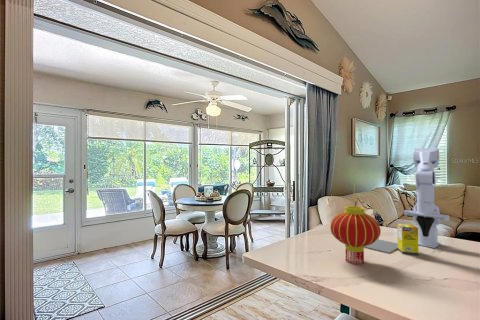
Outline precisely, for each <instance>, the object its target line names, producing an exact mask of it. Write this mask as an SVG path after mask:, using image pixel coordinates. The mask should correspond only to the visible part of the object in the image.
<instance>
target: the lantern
mask: <svg viewBox="0 0 480 320" xmlns="http://www.w3.org/2000/svg"><path fill="white" fill-rule="evenodd" d="M355 183H356V182H355V180H354V181H353V206H351V205H348V206H345V207H344V211H343V212H340V213H338V214H337V215H335V216H334V217H332V219H331V221H330V227H329V228H330V233H331V235H332V236H333V237H334V238H335V239H336V240H337V241H338V242H340V243H341V244H343V245H344V246H345V262H348V260H349V264H351V265H359V266H360V265H364V264H365V250H364V249H365V248H364V246H368V245H371V244H373V243H374V242H375V241H376V240H377V239H379V238H380V236H381V227H380V224H379V223H378V221H377V220H376V219H375V218H374V217H373V216H371V215H369V214H367V213H365V208H364V207H363V206H362V207H361V206H355V205H356V204H355V196H356V194H355V190H356V189H355V187H356V186H355Z"/></svg>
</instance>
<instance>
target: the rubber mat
mask: <svg viewBox="0 0 480 320" xmlns="http://www.w3.org/2000/svg"><path fill="white" fill-rule="evenodd" d="M364 249H369V250H373V251H375V252H376V251H377V252H381V253H384V254H390V255H391V253H394V252H395V251H397V250H398V242H392V241H387V240H384V239H379V238H378V239H377V240H376V241H375V242H374V243H373V244H371V245H368V246H364Z"/></svg>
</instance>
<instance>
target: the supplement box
mask: <svg viewBox="0 0 480 320" xmlns="http://www.w3.org/2000/svg"><path fill="white" fill-rule="evenodd" d="M396 225H397V232H396V233H397V238H396V239H397V240H396V241H397V242H396V243H398V249H397V250H398V251H399V252H400V253H401V254H405V255H415V256H418V255H419V245H418V228H417V225H414V224H405V223H397V224H396Z"/></svg>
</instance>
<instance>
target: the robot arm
mask: <svg viewBox="0 0 480 320" xmlns="http://www.w3.org/2000/svg"><path fill="white" fill-rule="evenodd" d="M412 151H413V154H412V155H413V157H412V158H413V165H414V167H416V168H417V169H416V173H415V175H414V176H415V178H414V180H415V189H416V204H414V206H413V210H409V209H405V210H403V212H404V213H403V215H404V216H411V217H412V219H413V222H414V223H415V224H416V227H417V228H418V246H423V247H428V248H433V249H435V248H436V247H438V246H439V245H440V244H441V242H439V238H438V236H439V235H438V234H439V232H438V227H437V226H439V225H440V224H441V221H445V222H448V221H450V215H449V214H443V213H442V214H441V213H440V208H439V206H438V205H436V204H435V186H436V179H437V178H436V176H437V175H436V172H435V169H436V168H438V166H439V165H440V164H439V163H440V162H439V161H440V149H439V148H438V147H430V148H429V147H427V148H423V147H422V148H421V147H420V148H416V147H415V148H413V150H412Z"/></svg>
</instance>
